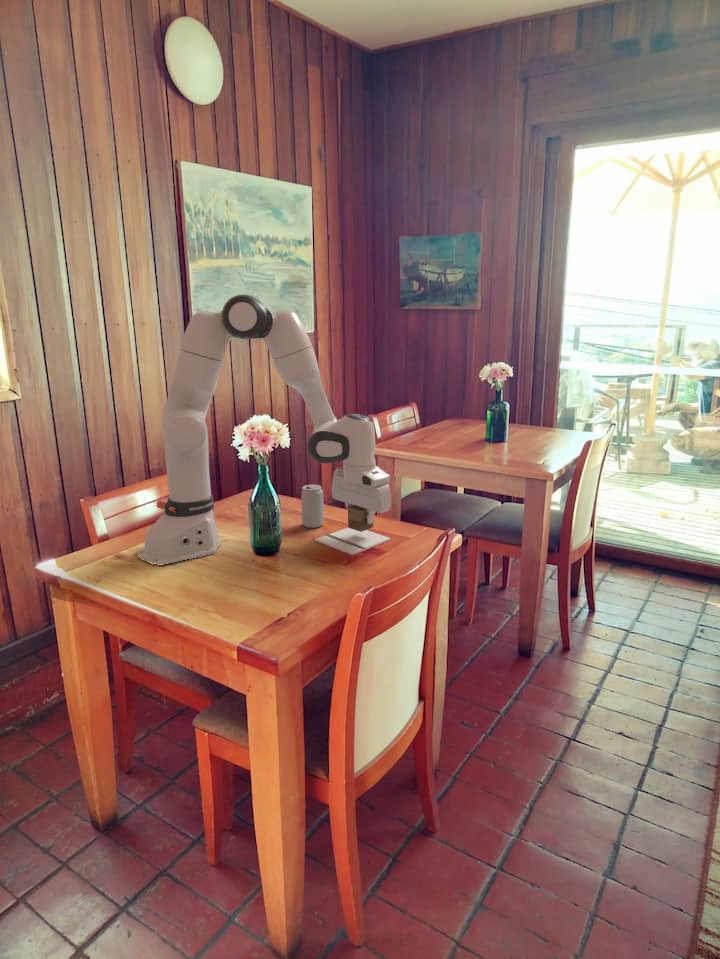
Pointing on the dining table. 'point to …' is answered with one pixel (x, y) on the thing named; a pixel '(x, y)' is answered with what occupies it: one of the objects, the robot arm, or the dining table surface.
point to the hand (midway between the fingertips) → (360, 520)
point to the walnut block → (358, 518)
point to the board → (352, 540)
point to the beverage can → (312, 506)
